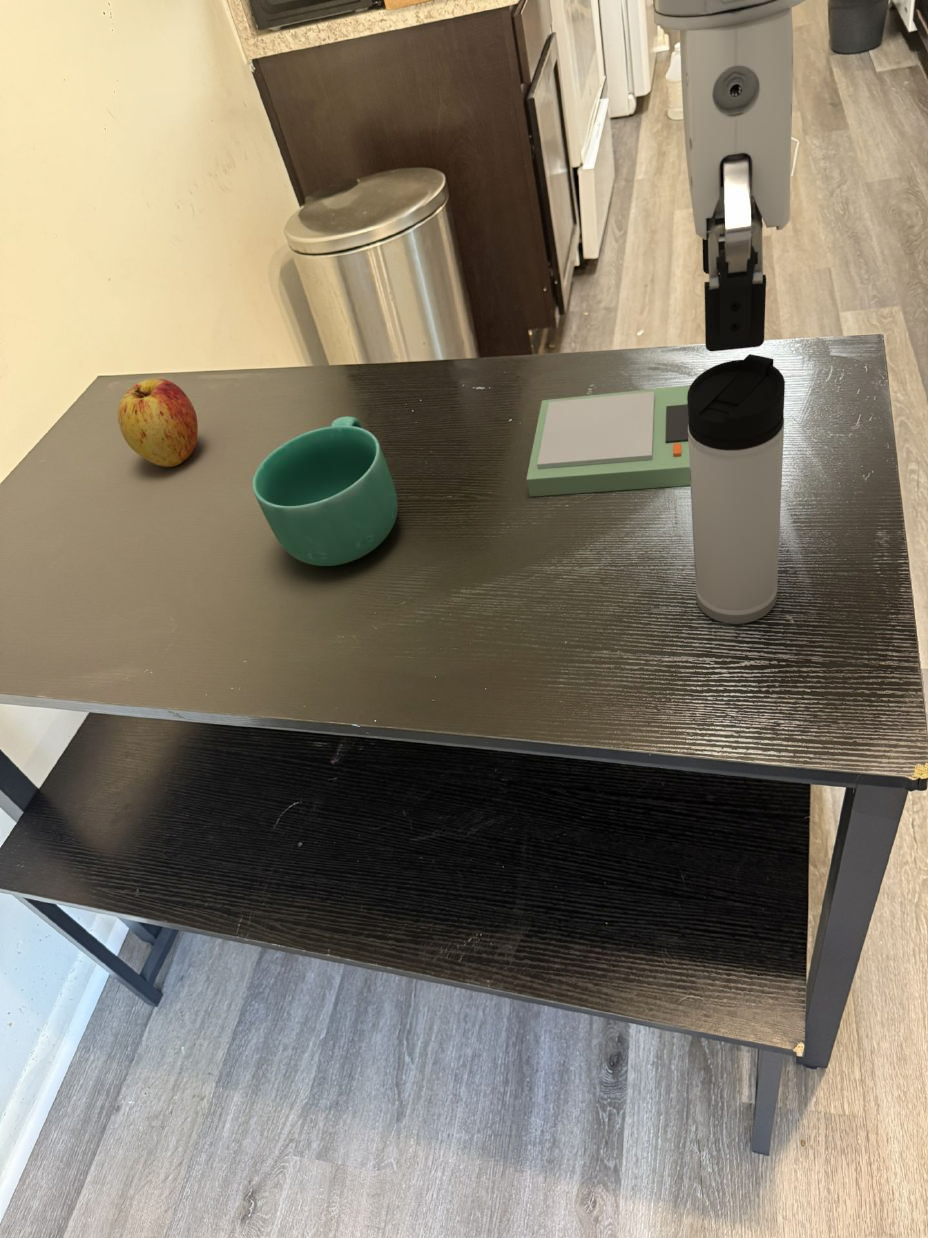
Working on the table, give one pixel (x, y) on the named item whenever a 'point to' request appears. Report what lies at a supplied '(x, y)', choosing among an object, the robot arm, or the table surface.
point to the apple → (158, 422)
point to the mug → (328, 494)
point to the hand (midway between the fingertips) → (731, 305)
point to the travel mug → (736, 486)
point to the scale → (611, 443)
